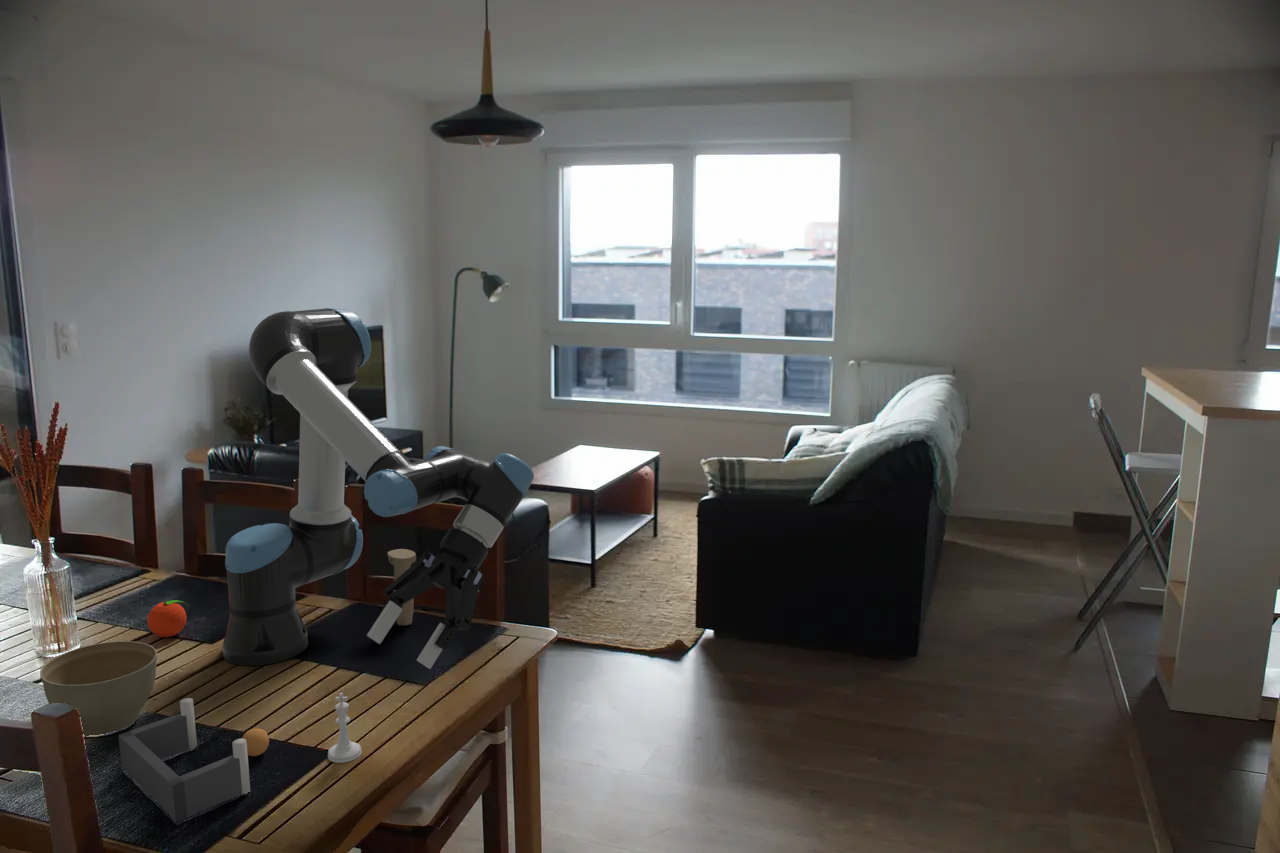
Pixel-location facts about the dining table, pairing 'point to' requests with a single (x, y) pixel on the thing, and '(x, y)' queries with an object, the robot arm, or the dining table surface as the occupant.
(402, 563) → the handle
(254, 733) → the ball
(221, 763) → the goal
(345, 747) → the chess piece
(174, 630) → the clementine
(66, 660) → the planter bowl
